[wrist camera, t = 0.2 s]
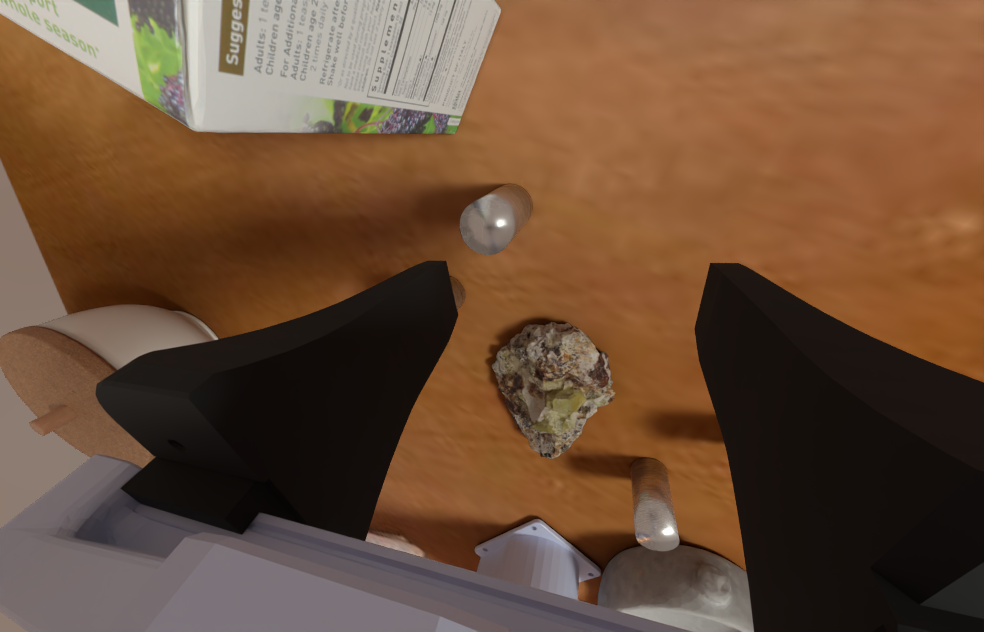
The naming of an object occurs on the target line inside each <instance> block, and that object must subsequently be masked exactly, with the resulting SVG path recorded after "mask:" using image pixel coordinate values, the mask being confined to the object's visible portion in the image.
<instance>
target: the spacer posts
mask: <svg viewBox="0 0 984 632" xmlns="http://www.w3.org/2000/svg"><path fill="white" fill-rule="evenodd" d="M532 208H533V205H532V200H531V197H530V195H529V193H528V192H527V191H526V190H525V189H524V188H523V187H521V186H519V185H516V184H506V185H503V186H501V187H499V188H497V189H496V190H494V191H492V192H490V193H489V194H487V195H485V196H483V197H482V198H480V199H478V200H476V201H475V202H473V203H471V204H470V205H468V206H467V207H466V208H465V210H464V211H463V213H462V215H461V218H460V233H461V236H462V238H463V240H464V242H465V243H466V244H467V245H468V247H469V248H471V249H472V250H473V251H475V252H477V253H480V254H484V255H492V254H496V253H499V252H500V251H502V250H503V249H504V248H505V247H506V246H507V245H508V244H509V243H510V241H511V240H512V239H513V238H514V237H515V235H516V234H517V233H518V232H519V231H520V229H521V228H522V227H523V226H524V225H525V223H526V222H527V221H528V220H529V218H530V216H531V213H532ZM450 281H451V285H452V290H453V294H454V299H455V303H456V308H457V310H458V309H459V308H460V307H461V305H462V304H463V303H464V301H465V290H464V287H463V286H462V284H461V283H460V282H459V281H458V280H457V279H455V278H454V277H451V276H450ZM631 482H632V495H633V509H634V522H635V536H636V539H637V541H638V542H639V543H640V544H641V545H643V546H644V547H646V548H648V549H651V550H655V551H669V550H672V549H675V548H676V547H677V546H678V545H679V535H678V530H677V524H676V519H675V513H674V508H673V502H672V496H671V491H670V485H669V480H668V474H667V469H666V467H665V465H664V464H663V463H661V462H660V461H658V460H656V459H652V458H641V459H638V460H636V461H634V462H633V463H632V465H631Z"/></svg>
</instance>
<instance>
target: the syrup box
mask: <svg viewBox="0 0 984 632" xmlns="http://www.w3.org/2000/svg"><path fill="white" fill-rule="evenodd" d="M500 12H501V8H500V6H499V5H498V4H497V3H496V2H495V0H0V14H2V15H3V16H5V17H6V18H8V19H10V20H11V21H13V22H15V23H16V24H18V25H19V26H21V27H23V28H24V29H26V30H28V31H29V32H31V33H33V34H34V35H36V36H38V37H39V38H41V39H43V40H44V41H46V42H48V43H49V44H51V45H53V46H54V47H56V48H58V49H59V50H61V51H63V52H65V53H66V54H68V55H70V56H71V57H73V58H75V59H76V60H78V61H80V62H81V63H83V64H85V65H87V66H88V67H90V68H92V69H93V70H95V71H97V72H98V73H100V74H101V75H103V76H105V77H106V78H108V79H109V80H111V81H113V82H115V83H116V84H118V85H120V86H121V87H123V88H125V89H126V90H128V91H130V92H131V93H133V94H135V95H136V96H138V97H140V98H141V99H143V100H145V101H146V102H148V103H150V104H151V105H153V106H155V107H156V108H158V109H160V110H161V111H163V112H165V113H166V114H168V115H169V116H171V117H173V118H174V119H176V120H178V121H179V122H181V123H182V124H184V125H185V126H187V127H188V128H190V129H192V130H194V131H197V132H219V133H237V132H249V133H353V134H455V133H456V131H457V128H458V125H459V123H460V120H461V117H462V114H463V112H464V109H465V106H466V104H467V101H468V98H469V96H470V93H471V90H472V88H473V85H474V82H475V80H476V77H477V74H478V71H479V69H480V66H481V64H482V61H483V58H484V56H485V53H486V50H487V47H488V45H489V42H490V40H491V37H492V34H493V32H494V29H495V26H496V24H497V21H498V18H499V16H500Z"/></svg>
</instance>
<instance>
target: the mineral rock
mask: <svg viewBox="0 0 984 632" xmlns="http://www.w3.org/2000/svg"><path fill="white" fill-rule="evenodd" d="M496 358H497V360H496V361H495V362H494V363H493V364H492V369H493V370H494V372H495V373H496V379H497V381H498V383H499V384H498V388H499V389H500V391H501V392H502V393H503V394H504V395H505V399H504V402H505V403H506V404H507V405H506V407H507V408H508V410H509V411H510V412H511V413H512V417H514V422H515V423H517V424H518V426H519V428H518V429H521V431H522V432H523V433H524V436H526V437H527V438H528V441H529V445H530V447H531V449H533V450H535V451H536V452H539V453H540V455H541V457H547V458H549V459H552V458H556V457H558V456H559V455H560V454H561V453H562V452H565V453H566V451H567V449H568V448H571V447H570V446H571V444H572V443H573V441H574V440H576V439H577V438H578V437H579V436H581V433H582V428H583V426H584V424H585V422H586V421H587V419H588V418H590V417H592V415H593V414H594V413H595V412H597V407H600V406H604V405H607V404H608V403H610V402H611V401H612V400H613V399H614V398H613V396H614V395H616V393H615V392H614V391H613V389H611V388H610V387H611V385H612V383H613V381H612V380H611V378H610V376H611V372H610V368H609V363H608V360H609V358H608V355H607V354H606V353H605V352H600V353H599V352H598V350H596V348H595V346H594V345H593V342H592V341H590V338H589V337H588V336H587V335H586V334H584V333H583V332H582V331H581V330H580V329H576V328H575V327H572V326H571V325H570V324H569V323H566V324H556V323H555V322H551V323H550V324H547V325H537V324H534V325H527V326H525V327H524V329H523V331H522V333H521V334H519V333H518V334H517V335H516V336H515V337H513V338H511V340H510V341H509V342H508V343H507V344H506V346H504V347H502V348H501V349H500V350H499V351H498V353H497V356H496Z"/></svg>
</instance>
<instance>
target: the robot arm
mask: <svg viewBox="0 0 984 632" xmlns="http://www.w3.org/2000/svg"><path fill="white" fill-rule="evenodd" d="M457 317H458V312H457V308H456V303H455V299H454V294H453V290H452V285H451V281H450V276H449V272H448V267H447V263H446V261H426V262H423V263H420V264H418V265H416V266H413V267H411V268H409V269H407V270H405V271H403V272H401V273H399V274H397V275H395V276H393V277H391V278H389V279H387V280H385V281H383V282H381V283H379V284H377V285H375V286H373V287H371V288H369V289H367V290H365V291H363V292H361V293H359V294H356V295H354V296H352V297H350V298H348V299H346V300H344V301H341V302H339V303H337V304H334V305H332V306H329V307H327V308H324V309H322V310H319V311H316V312H314V313H311V314H308V315H306V316H303V317H300V318H296V319H293V320H290V321H287V322H283V323H280V324H277V325H274V326H271V327H267V328H264V329H260V330H256V331H252V332H248V333H244V334H240V335H236V336H232V337H227V338H223V339H218V340H213V341H208V342H203V343H197V344H192V345H186V346H180V347H174V348H169V349H163V350H156V351H152V352H149V353H146V354H143V355H141V356H139V357H137V358H135V359H134V360H132V361H131V362H129V363H128V364H126V365H124V366H123V367H121V368H120V369H118V370H117V371H115V372H114V373H112V374H111V375H109V376H108V377H106V378H105V379H103V380H102V381H100V382H99V383H97V385H96V393H95V395H96V397H97V400H98V402H99V404H100V405H101V406H102V408H103V409H104V410H105V411H106V413H107V414H108V415H109V416H110V417H111V418H112V419H113V420H114V421H115V422H116V423H118V424H119V425H120V426H121V427H122V428H123V429H124V430H125V431H126V432H128V433H129V434H130V435H131V436H132V437H133V438H134V439H135V440H136V441H138V442H139V443H140V444H141V445H142V446H143V447H144V448H145V449H146V450H148V451H149V452H150V453H151V454H152V455H153V456H155V458H154V459H153V460H152V461H150V462H149V463H148V464H147V465H146V466H145V467H144V468H142V467H140V466H138V465H136V464H134V463H132V462H129V461H126V460H122V459H119V458H115V457H111V456H107V455H103V454H97V455H94V456H92V457H91V458H90V459H89V460H87V461H86V462H85V463H83V464H82V465H81V466H80V467H79V468H77V469H76V470H75V471H73V472H72V473H71V474H69V475H68V476H67V477H66V478H64V479H63V480H62V481H61V482H59V483H58V484H57V485H55V486H54V487H53V488H52V489H51V490H49V491H48V492H46V493H45V494H44V495H43V496H41V497H40V498H39V499H37V500H36V501H35V502H34V503H32V504H31V505H30V506H28V507H27V508H26V509H25V510H23V511H22V512H21V513H20V514H18V515H17V516H16V517H14V518H13V519H12V520H11V521H9V522H8V523H7V524H6V525H4V526H3V527H2V528H0V612H2V613H3V614H4V615H6V616H7V617H8V618H10V619H11V620H13V621H14V622H16V623H17V624H18V625H20V626H21V627H22V628H24V629H25V630H26V631H28V632H692V631H688V630H685V629H681V628H678V627H674V626H670V625H667V624H663V623H659V622H656V621H652V620H649V619H645V618H641V617H638V616H634V615H630V614H627V613H623V612H619V611H616V610H612V609H609V608H605V607H601V606H598V605H594V604H590V603H587V602H583V601H580V600H578V587H579V582H582V581H585V580H589V579H592V578H595V577H599V576H600V575H601V569H600V568H599V567H598V566H597V565H595V564H594V563H593V562H592V561H590V560H589V559H588V558H587V557H586V556H584V555H583V554H582V553H581V552H580V551H578V550H577V549H576V548H575V547H573V546H572V545H571V544H570V543H569V542H567V541H566V540H565V539H564V538H563V537H561V536H560V535H559V534H558V533H556V532H555V531H554V530H553V529H552V528H550V527H549V526H548V525H547V524H546V523H544V522H543V521H542V520H540V519H534V520H532V521H530V522H528V523H525V524H523V525H521V526H519V527H517V528H515V529H513V530H510V531H508V532H506V533H504V534H502V535H500V536H497V537H495V538H493V539H491V540H489V541H487V542H484V543H482V544H480V545H478V546H476V547H475V553H476V554H477V555H479V556H480V557H481V558H480V562H479V565H478V569H477V572H474V571H471V570H467V569H464V568H460V567H456V566H453V565H449V564H445V563H442V562H438V561H435V560H431V559H427V558H424V557H420V556H416V555H413V554H409V553H405V552H402V551H398V550H395V549H391V548H387V547H384V546H380V545H376V544H373V543H369V542H366V541H365V540H366V537H367V533H368V530H369V527H370V523H371V520H372V517H373V514H374V510H375V507H376V504H377V500H378V497H379V495H380V492H381V489H382V486H383V483H384V480H385V477H386V474H387V471H388V468H389V465H390V463H391V460H392V457H393V455H394V452H395V450H396V447H397V444H398V442H399V439H400V436H401V434H402V432H403V429H404V427H405V424H406V422H407V420H408V417H409V415H410V413H411V410H412V408H413V406H414V404H415V402H416V400H417V398H418V396H419V394H420V392H421V390H422V389H423V387H424V385H425V383H426V381H427V380H428V378H429V376H430V374H431V373H432V371H433V369H434V367H435V365H436V364H437V362H438V360H439V358H440V356H441V355H442V353H443V351H444V349H445V347H446V345H447V343H448V342H449V339H450V337H451V334H452V332H453V329H454V326H455V323H456V320H457ZM695 335H696V343H697V350H698V356H699V361H700V365H701V368H702V372H703V375H704V378H705V381H706V385H707V388H708V391H709V394H710V397H711V400H712V404H713V407H714V410H715V413H716V416H717V419H718V422H719V426H720V429H721V432H722V435H723V439H724V443H725V447H726V451H727V455H728V460H729V466H730V471H731V476H732V482H733V487H734V493H735V499H736V505H737V511H738V517H739V523H740V529H741V535H742V542H743V549H744V557H745V564H746V571H747V578H748V585H749V593H750V602H751V610H752V619H753V627H754V632H984V383H983V382H981V381H978V380H975V379H973V378H970V377H967V376H965V375H962V374H959V373H957V372H954V371H951V370H949V369H946V368H943V367H941V366H938V365H936V364H933V363H931V362H928V361H926V360H923V359H921V358H919V357H916V356H914V355H912V354H909V353H907V352H905V351H902V350H900V349H898V348H896V347H893V346H891V345H889V344H887V343H884V342H882V341H880V340H878V339H875V338H873V337H871V336H869V335H867V334H865V333H863V332H861V331H859V330H857V329H855V328H853V327H851V326H849V325H847V324H845V323H843V322H841V321H839V320H837V319H835V318H833V317H832V316H830V315H828V314H826V313H824V312H822V311H820V310H819V309H817V308H815V307H813V306H811V305H810V304H808V303H806V302H805V301H803V300H801V299H799V298H798V297H796V296H794V295H793V294H791V293H789V292H788V291H786V290H784V289H783V288H781V287H779V286H778V285H776V284H774V283H773V282H771V281H770V280H768V279H766V278H765V277H763V276H761V275H760V274H758V273H756V272H755V271H753V270H751V269H749V268H748V267H746V266H744V265H741V264H739V263H710V267H709V271H708V275H707V279H706V283H705V287H704V292H703V296H702V300H701V304H700V308H699V312H698V317H697V321H696V325H695Z"/></svg>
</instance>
